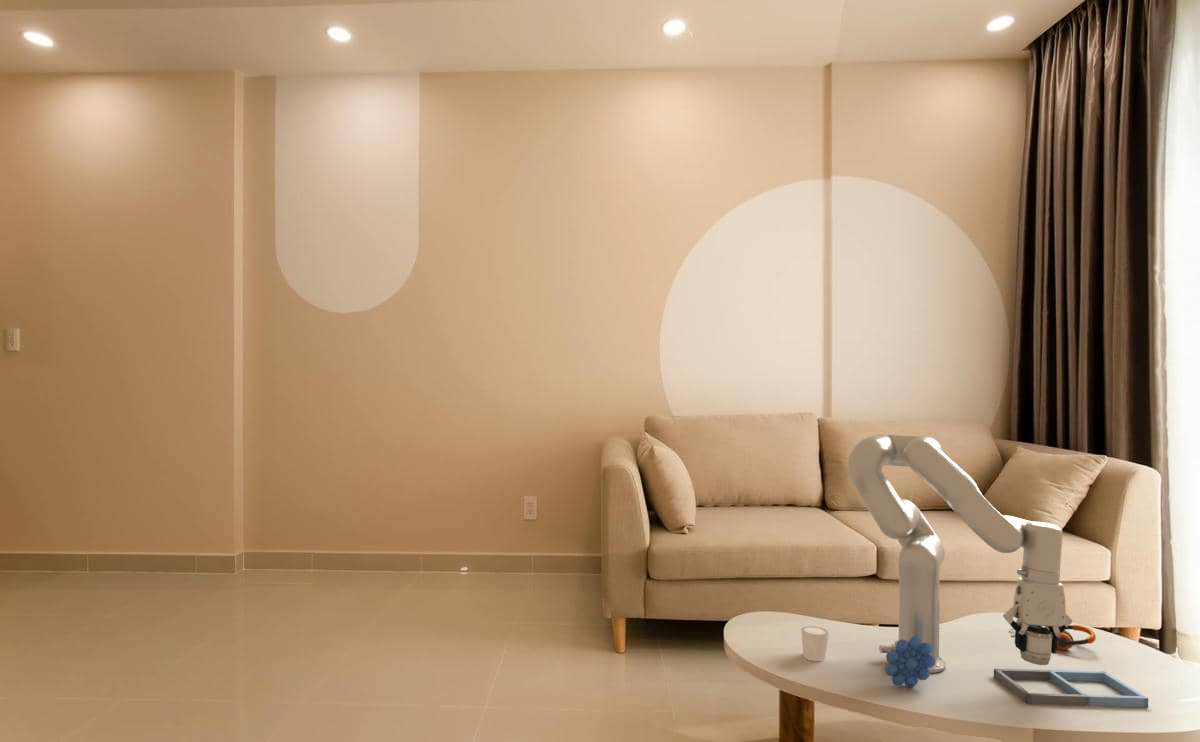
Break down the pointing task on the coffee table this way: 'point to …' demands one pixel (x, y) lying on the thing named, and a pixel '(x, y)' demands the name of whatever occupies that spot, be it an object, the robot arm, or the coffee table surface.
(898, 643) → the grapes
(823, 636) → the shot glass
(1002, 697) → the coffee table surface
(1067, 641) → the headphones
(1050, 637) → the camera lens
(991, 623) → the coffee table surface
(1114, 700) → the organizer
